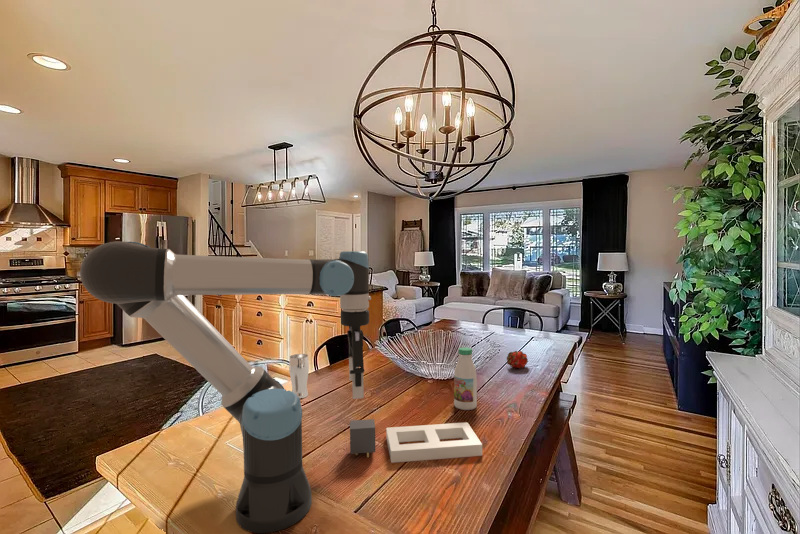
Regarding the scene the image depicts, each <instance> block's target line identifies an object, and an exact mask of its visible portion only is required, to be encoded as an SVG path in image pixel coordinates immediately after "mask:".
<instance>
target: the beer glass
mask: <svg viewBox="0 0 800 534" xmlns="http://www.w3.org/2000/svg"><path fill="white" fill-rule="evenodd" d="M309 364H310V363H309V356H308V354H307V353H297V354H296V353H295V354H292V355H290V356H289V362H288V366H289V377H290V382H291V391H292V392H294V393H295V394H296V395H297V396H298V397H299V399H300V400H301V398H302V399H305V398H307V397H309V392H308V387H307V386H308V379H309V378H308V377H309V368H310V366H309Z"/></svg>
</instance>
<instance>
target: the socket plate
mask: <svg viewBox="0 0 800 534" xmlns="http://www.w3.org/2000/svg"><path fill="white" fill-rule="evenodd" d="M385 433H386V443H387V449H388V454H389V458H390V459H389V460H390V463H403V462H404V463H405V462H418V461H420V462H421V461H430V460H431V461H432V460H441V459H442V460H443V459H456V458H457V459H458V458H469V457H482V456H483V443H482V442H481V441H480V439H479V437H478V436H477V434H476V433H475V432H474V430H473V429H472V427H471V426H470V424H469V423H468V422H467V421H466V422H452V423H438V424H436V423H435V424H424V425H423V424H422V425H410V426H409V425H408V426H393V427H391V426H390V427H386V430H385ZM449 439H455V440H449ZM456 439H458V440H456ZM441 440H443V441H441ZM419 441H420V442H419ZM421 441H422V442H421ZM423 441H424V442H423ZM407 442H408V443H407ZM409 442H413V443H409ZM414 442H415V443H414ZM400 443H403V444H400Z"/></svg>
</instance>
